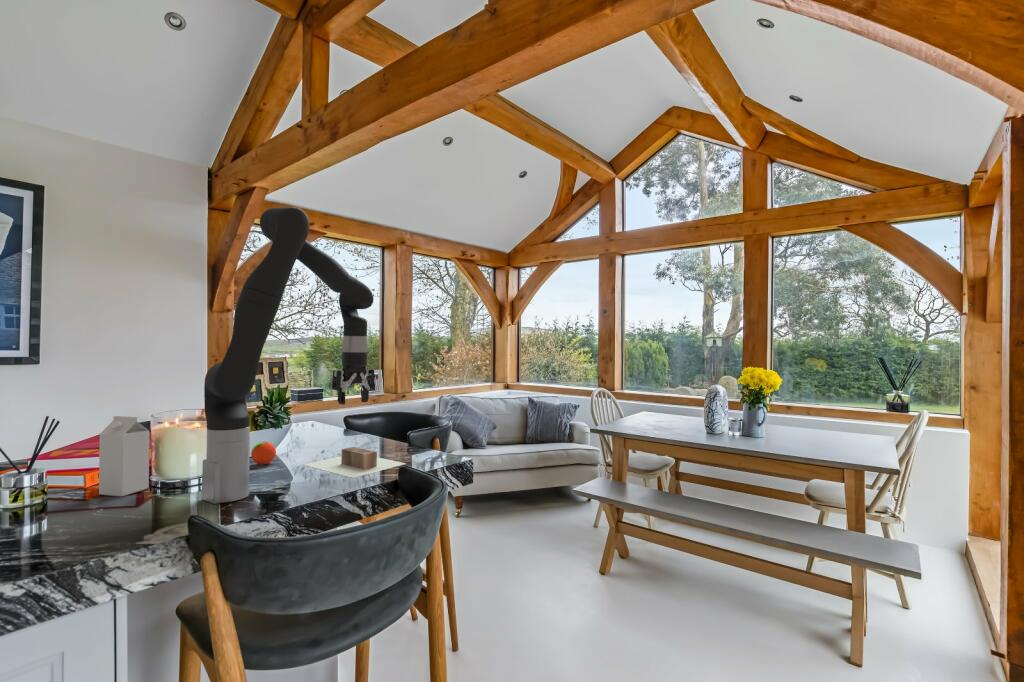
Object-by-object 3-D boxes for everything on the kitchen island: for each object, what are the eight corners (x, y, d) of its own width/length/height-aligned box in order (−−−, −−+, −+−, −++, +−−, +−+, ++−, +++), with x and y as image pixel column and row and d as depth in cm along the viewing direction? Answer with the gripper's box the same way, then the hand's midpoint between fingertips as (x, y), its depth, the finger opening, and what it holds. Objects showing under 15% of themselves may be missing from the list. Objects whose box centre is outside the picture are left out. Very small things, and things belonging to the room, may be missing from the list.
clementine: (260, 469, 149) (260, 445, 149) (242, 466, 151) (243, 443, 151) (280, 462, 156) (281, 440, 156) (264, 460, 158) (264, 438, 158)
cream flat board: (353, 479, 138) (353, 477, 138) (302, 466, 152) (302, 464, 152) (406, 465, 155) (406, 463, 155) (356, 454, 168) (356, 452, 168)
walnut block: (341, 463, 153) (364, 469, 147) (341, 449, 153) (364, 454, 147) (353, 461, 157) (376, 466, 151) (353, 446, 157) (376, 451, 151)
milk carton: (126, 486, 129) (127, 413, 129) (148, 488, 128) (149, 415, 128) (98, 495, 122) (99, 418, 122) (122, 497, 121) (123, 419, 121)
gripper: (343, 351, 146) (341, 406, 146) (380, 351, 158) (379, 402, 158) (327, 350, 150) (326, 404, 150) (365, 350, 162) (363, 400, 162)
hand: (353, 403), depth 154 cm, fingers open, 8 cm apart
